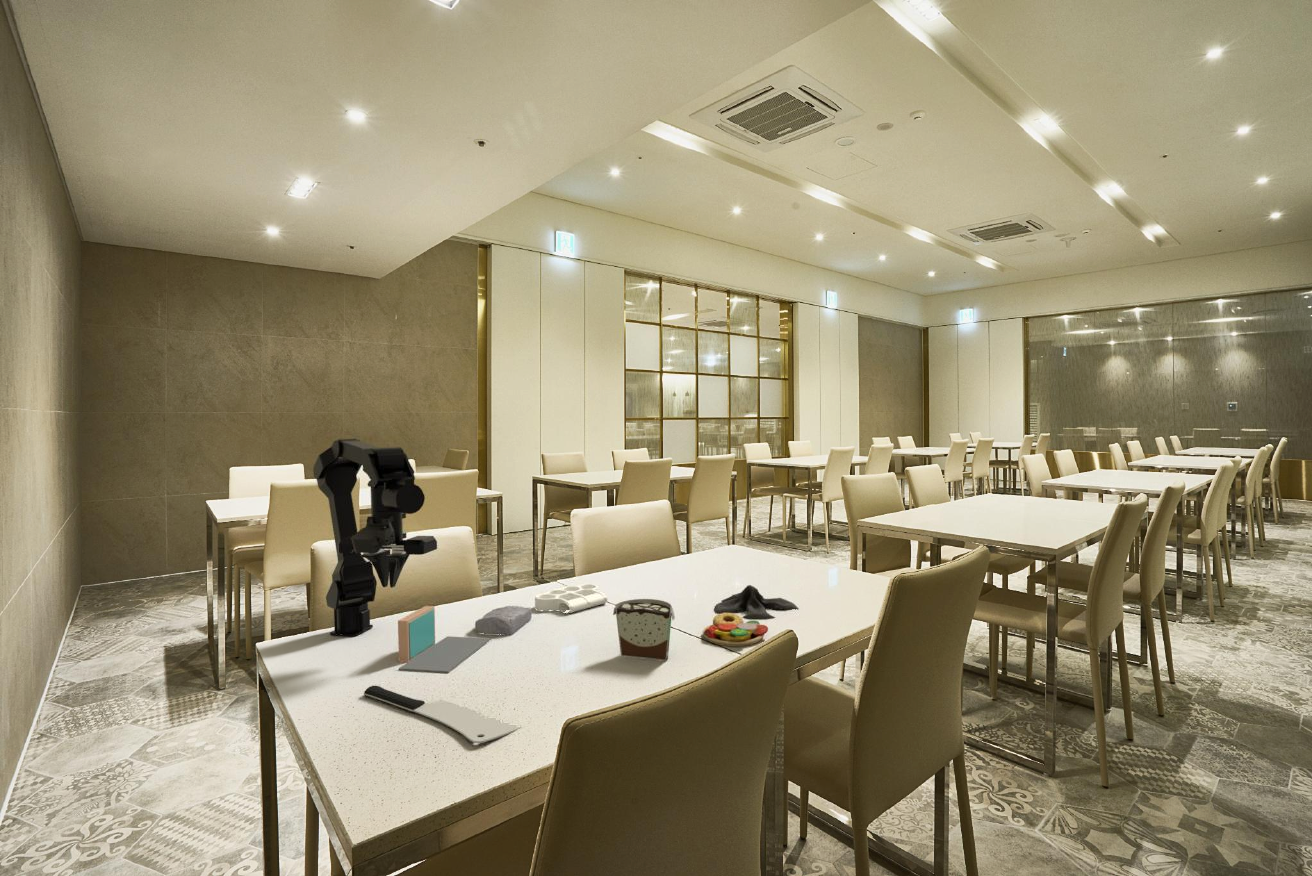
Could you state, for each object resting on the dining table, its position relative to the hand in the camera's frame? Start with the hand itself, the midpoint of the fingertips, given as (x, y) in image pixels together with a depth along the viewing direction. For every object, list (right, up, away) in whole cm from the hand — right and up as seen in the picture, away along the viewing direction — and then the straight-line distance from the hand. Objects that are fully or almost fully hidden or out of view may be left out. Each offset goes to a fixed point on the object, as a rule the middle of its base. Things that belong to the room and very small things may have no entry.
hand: (388, 587), depth 129 cm
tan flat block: (+6, -13, -1) cm, 14 cm away
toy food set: (+70, -12, +6) cm, 72 cm away
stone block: (+19, -13, +15) cm, 28 cm away
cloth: (+76, -12, +27) cm, 82 cm away
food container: (+52, -12, -3) cm, 54 cm away
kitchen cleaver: (+19, -14, -27) cm, 36 cm away
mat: (+12, -13, -2) cm, 18 cm away
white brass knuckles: (+32, -12, +32) cm, 47 cm away
